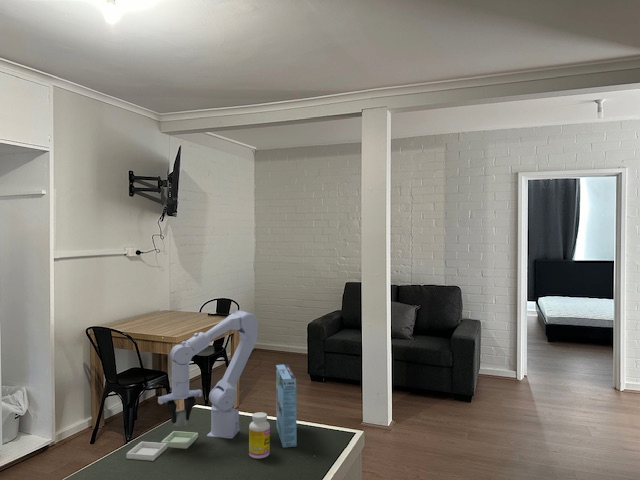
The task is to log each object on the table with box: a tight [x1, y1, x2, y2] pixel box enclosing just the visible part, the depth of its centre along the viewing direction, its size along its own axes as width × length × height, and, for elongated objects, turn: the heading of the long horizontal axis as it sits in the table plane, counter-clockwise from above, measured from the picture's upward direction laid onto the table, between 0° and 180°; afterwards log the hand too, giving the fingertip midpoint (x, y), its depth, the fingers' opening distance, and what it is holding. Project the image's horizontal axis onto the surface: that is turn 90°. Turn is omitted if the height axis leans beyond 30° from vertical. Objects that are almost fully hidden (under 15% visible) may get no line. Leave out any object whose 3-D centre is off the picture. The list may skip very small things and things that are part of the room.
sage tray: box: [160, 430, 199, 449], centre depth 162 cm, size 9×9×2 cm
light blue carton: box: [275, 364, 298, 448], centre depth 169 cm, size 20×5×23 cm, turn 11°
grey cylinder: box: [173, 408, 187, 428], centre depth 162 cm, size 4×4×5 cm
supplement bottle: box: [248, 411, 271, 459], centre depth 154 cm, size 7×7×13 cm
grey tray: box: [125, 441, 168, 462], centre depth 153 cm, size 9×9×2 cm
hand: (180, 420), depth 162 cm, fingers closed on grey cylinder, 4 cm apart
